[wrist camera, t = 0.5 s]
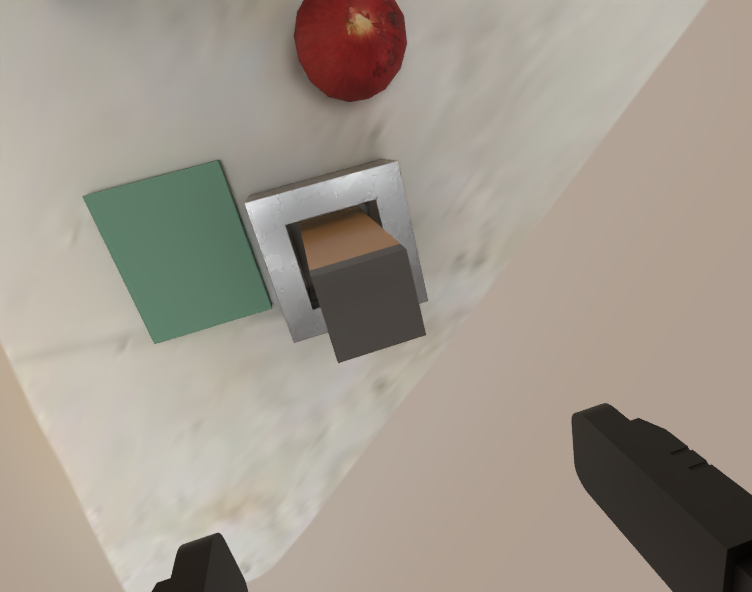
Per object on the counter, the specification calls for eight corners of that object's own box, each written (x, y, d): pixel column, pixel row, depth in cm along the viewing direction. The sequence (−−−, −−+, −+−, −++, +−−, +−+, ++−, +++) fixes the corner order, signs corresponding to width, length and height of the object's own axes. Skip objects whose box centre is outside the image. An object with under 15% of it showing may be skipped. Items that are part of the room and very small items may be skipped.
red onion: (380, -9, 26) (420, -68, 19) (395, 97, 28) (436, 81, 21) (283, 5, 25) (283, -51, 18) (305, 113, 27) (314, 102, 20)
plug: (299, 222, 30) (310, 277, 17) (356, 205, 30) (406, 248, 18) (316, 276, 31) (338, 363, 19) (370, 260, 31) (425, 334, 19)
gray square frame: (249, 195, 28) (244, 203, 25) (382, 158, 29) (397, 161, 26) (292, 319, 32) (293, 342, 28) (411, 282, 32) (428, 301, 29)
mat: (88, 194, 27) (82, 196, 26) (219, 159, 27) (217, 160, 27) (157, 339, 30) (154, 344, 29) (272, 304, 31) (271, 308, 30)
